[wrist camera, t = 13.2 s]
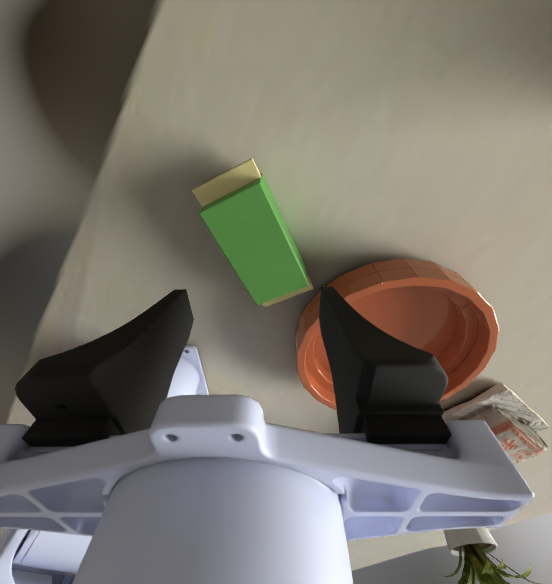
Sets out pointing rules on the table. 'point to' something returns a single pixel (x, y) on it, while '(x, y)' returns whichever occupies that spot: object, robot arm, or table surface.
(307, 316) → the bowl
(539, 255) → the table surface
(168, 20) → the table surface
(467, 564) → the house plant
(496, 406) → the packaged product
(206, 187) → the eraser with green sleeve
